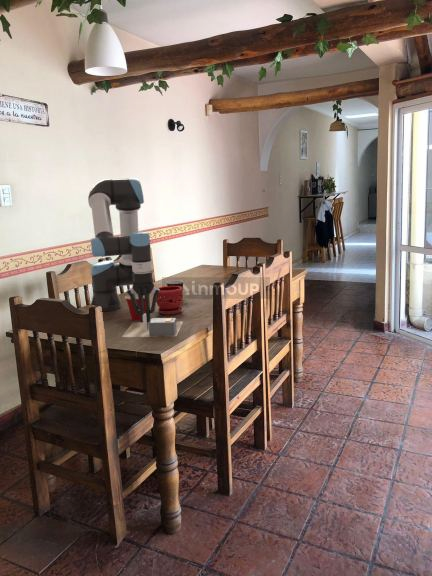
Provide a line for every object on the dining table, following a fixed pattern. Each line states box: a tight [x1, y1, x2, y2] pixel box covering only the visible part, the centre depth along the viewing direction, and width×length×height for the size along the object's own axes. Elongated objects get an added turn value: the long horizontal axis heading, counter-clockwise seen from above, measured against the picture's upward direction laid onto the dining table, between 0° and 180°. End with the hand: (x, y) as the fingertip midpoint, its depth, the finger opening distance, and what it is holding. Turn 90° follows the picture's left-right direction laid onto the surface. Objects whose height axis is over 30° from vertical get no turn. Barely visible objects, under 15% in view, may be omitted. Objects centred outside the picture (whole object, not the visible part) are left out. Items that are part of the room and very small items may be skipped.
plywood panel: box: [121, 321, 184, 338], centre depth 199 cm, size 22×20×2 cm
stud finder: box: [149, 317, 177, 337], centre depth 191 cm, size 10×6×6 cm, turn 86°
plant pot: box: [156, 285, 184, 315], centre depth 228 cm, size 13×13×12 cm
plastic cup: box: [124, 293, 146, 321], centre depth 215 cm, size 11×11×12 cm
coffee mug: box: [166, 279, 184, 297], centre depth 251 cm, size 12×9×10 cm
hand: (146, 329), depth 192 cm, fingers closed
